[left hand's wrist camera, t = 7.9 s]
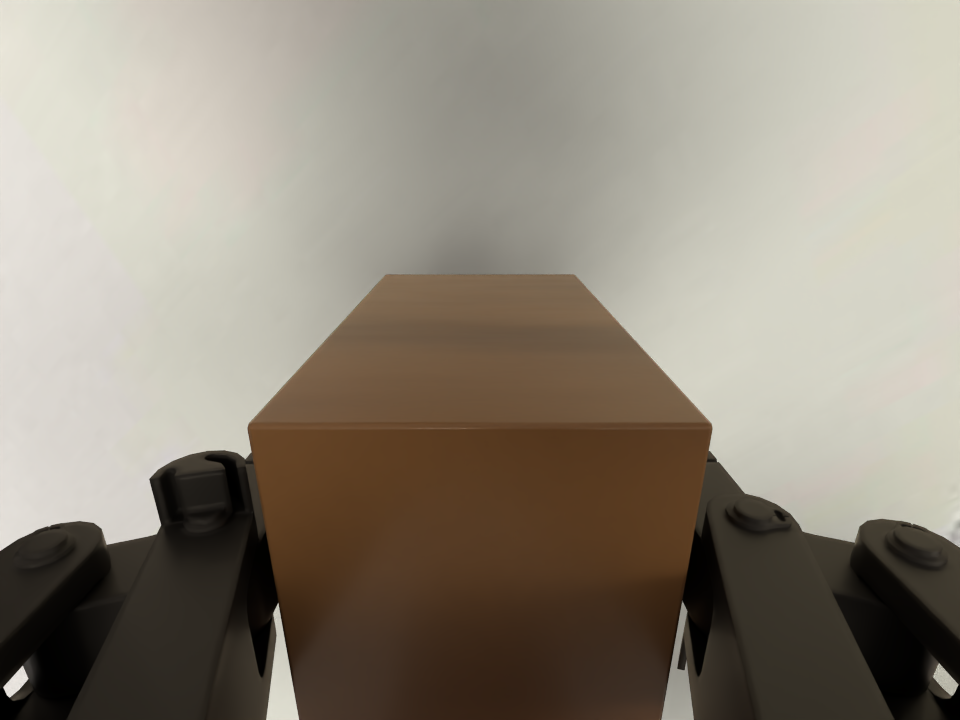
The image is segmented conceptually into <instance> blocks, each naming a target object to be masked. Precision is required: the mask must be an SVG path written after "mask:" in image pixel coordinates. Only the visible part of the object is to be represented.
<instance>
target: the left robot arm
mask: <svg viewBox="0 0 960 720" xmlns="http://www.w3.org/2000/svg"><path fill="white" fill-rule="evenodd" d="M149 480H150V484H151V487H152V491H153V495H154V499H155V503H156V506H157V510H158V514H159V518H160V522H161V527H160V529H159V531H158V533H157V534H156V535H153V536H149V537H144V538H139V539H134V540H129V541H124V542H119V543H114V544H109V545H106V542H105V538H104V535H103V532H102V529H101V528H100V527H98V526H97V525H96V524H94V523H89V522H81V521H77V522H69V523H60V524H55V525H51V527H48V526H47V527H44V528H41V529H38V530H36V531H35V532H33V533H31V534H29V535H27V536H25V537H22V538H20V539H18V540H16V541H15V542H13V543H12V544H10V545H9V546H7V547H6V548H4V549H3V550H1V551H0V720H266V716H267V708H268V700H269V692H270V684H271V676H272V668H273V660H274V651H275V643H276V628H275V622H274V617H273V612H274V610H275V608H276V606H277V604H278V597H277V592H276V586H275V580H274V575H273V569H272V563H271V558H270V552H269V546H268V541H267V535H266V530H265V524H264V518H263V513H262V507H261V501H260V496H259V490H258V485H257V479H256V473H255V468H254V462H253V456H252V453H250V455H249V456H248V457H247V458H246V459H244V458H243V457H242V456H240V455H239V454H238V453H234V452H229V451H225V450H224V451H206V452H201V453H196V454H191V455H188V456H185V457H183V458H180V459H177V460H174V461H172V462H170V463H169V464H167V465H165V466H164V467H162V468H160V469H159V470H158V471H157V472H156V473H155V474H154V475H153V476H152V477H151V478H150V479H149ZM682 600H683V603H684V605H685V607H686V609H687V617H686V622H685V627H684V633H683V638H682V644H681V649H680V655H679V661H678V668H677V669H681V670H685V665H686V659H687V666H688V674H689V683H690V691H691V699H692V707H693V715H694V720H960V548H959V547H958V546H956V545H955V544H953V543H952V542H950V541H949V540H947V539H946V538H944V537H942V536H940V535H938V534H935V533H933V532H931V531H929V530H927V529H926V528H924V527H921V526H918V525H915V524H913V525H912V524H911V523H907V522H903V521H894V520H886V519H878V520H870V521H867V522H865V523H864V524H863V525H861V526H860V527H859V530H858V534H857V537H856V540H855V543H853V542H848V541H843V540H838V539H833V538H828V537H823V536H818V535H813V534H809V533H805V532H802V530H801V528H800V526H799V524H798V523H797V522H796V520H795V519H794V518H793V517H792V515H791V514H790V513H788V512H787V511H785V510H784V509H782V508H781V507H779V506H778V505H776V504H774V503H772V502H770V501H767V500H765V499H763V498H760V497H756V496H752V495H748V494H745V493H744V492H743V491H742V490H741V488H740V487H739V486H738V485H737V484H736V482H735V481H734V480H733V479H732V477H731V476H730V475H729V474H728V473H727V471H726V470H725V469H724V468H723V467H722V465H721V464H720V463H719V462H717V459H716V458H715V457H714V456H713V454H712V453H711V452H710V451H708V457H707V462H706V468H705V474H704V479H703V485H702V491H701V496H700V502H699V508H698V514H697V519H696V525H695V531H694V536H693V542H692V548H691V553H690V559H689V565H688V570H687V576H686V582H685V587H684V593H683V599H682ZM938 663H940V664H941V666H942V667H943V668H944V669H945V670H946V671H947V672H948V673H949V674H950V675H951V677H952V678H953V679H954V680H955V681H956V682H957V683H958V684H959V685H958V687H957V689H956V692H955V694H954V695H953V696H951V695H949V694H948V693H947V692H946V691H945V690H944V689H943V688H942V687H941V686H940V685H939V684H938V683H937V681H936V680H935V679H934V678H933V675H934V673H935V670H936V668H937V666H938ZM22 666H23V667H24V669H25V671H26V674H27V676H28V678H29V679H28V680H27V682H26V683H25V684H24V685H23V686H22V687H21V688H20V690H19V691H17V692H16V693H15V694H14V695H13V696H11V697H10V698H9V697H8V696H7V695H6V693H5V690H4V688H3V687H4V686H5V684H6V683H7V682H8V681H9V680H10V679H11V678H12V677H13V676H14V674H15V673H16V672H17V671H18V670H19V669H20V668H21V667H22Z"/></svg>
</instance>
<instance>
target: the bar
mask: <svg viewBox="0 0 960 720" xmlns="http://www.w3.org/2000/svg"><path fill="white" fill-rule="evenodd" d="M248 434H249V440H250V445H251V451H252V456H253V462H254V468H255V473H256V479H257V485H258V490H259V496H260V501H261V507H262V513H263V518H264V524H265V530H266V535H267V541H268V546H269V552H270V558H271V563H272V569H273V575H274V580H275V586H276V592H277V597H278V603H279V608H280V614H281V620H282V625H283V631H284V637H285V642H286V648H287V653H288V659H289V665H290V670H291V676H292V682H293V687H294V693H295V698H296V704H297V710H298V715H299V720H661V718H662V712H663V707H664V701H665V695H666V690H667V684H668V678H669V673H670V667H671V661H672V655H673V650H674V644H675V638H676V633H677V627H678V621H679V616H680V610H681V604H682V599H683V593H684V587H685V582H686V576H687V570H688V565H689V559H690V553H691V548H692V542H693V536H694V531H695V525H696V519H697V514H698V508H699V502H700V496H701V491H702V485H703V479H704V474H705V468H706V462H707V457H708V451H709V445H710V440H711V434H712V424H711V423H710V422H709V420H708V419H707V418H706V417H705V416H704V415H703V414H702V413H701V412H700V411H699V410H698V408H697V407H696V406H695V405H694V404H693V403H692V402H691V401H690V400H689V399H688V398H687V397H686V395H685V394H684V393H683V392H682V391H681V390H680V389H679V388H678V387H677V386H676V385H675V383H674V382H673V381H672V380H671V379H670V378H669V377H668V376H667V375H666V374H665V373H664V371H663V370H662V369H661V368H660V367H659V366H658V365H657V364H656V363H655V362H654V361H653V359H652V358H651V357H650V356H649V355H648V354H647V353H646V352H645V351H644V350H643V349H642V347H641V346H640V345H639V344H638V343H637V342H636V341H635V340H634V339H633V338H632V337H631V335H630V334H629V333H628V332H627V331H626V330H625V329H624V328H623V327H622V326H621V325H620V323H619V322H618V321H617V320H616V319H615V318H614V317H613V316H612V315H611V314H610V313H609V312H608V310H607V309H606V308H605V307H604V306H603V305H602V304H601V303H600V302H599V301H598V300H597V298H596V297H595V296H594V295H593V294H592V293H591V292H590V291H589V290H588V289H587V288H586V286H585V285H584V284H583V283H582V282H581V281H580V280H579V279H578V278H577V277H576V276H575V275H385V276H384V277H383V278H382V279H381V280H380V281H379V283H378V284H377V285H376V286H375V287H374V288H373V289H372V290H371V291H370V292H369V293H368V295H367V296H366V297H365V298H364V299H363V300H362V301H361V302H360V303H359V304H358V305H357V307H356V308H355V309H354V310H353V311H352V312H351V313H350V314H349V315H348V316H347V317H346V318H345V320H344V321H343V322H342V323H341V324H340V325H339V326H338V327H337V328H336V329H335V330H334V332H333V333H332V334H331V335H330V336H329V337H328V338H327V339H326V340H325V341H324V342H323V343H322V345H321V346H320V347H319V348H318V349H317V350H316V351H315V352H314V353H313V354H312V355H311V357H310V358H309V359H308V360H307V361H306V362H305V363H304V364H303V365H302V366H301V367H300V368H299V370H298V371H297V372H296V373H295V374H294V375H293V376H292V377H291V378H290V379H289V380H288V382H287V383H286V384H285V385H284V386H283V387H282V388H281V389H280V390H279V391H278V392H277V394H276V395H275V396H274V397H273V398H272V399H271V400H270V401H269V402H268V403H267V404H266V405H265V407H264V408H263V409H262V410H261V411H260V412H259V413H258V414H257V415H256V416H255V417H254V419H253V420H252V421H251V422H250V423H249V425H248Z"/></svg>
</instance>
